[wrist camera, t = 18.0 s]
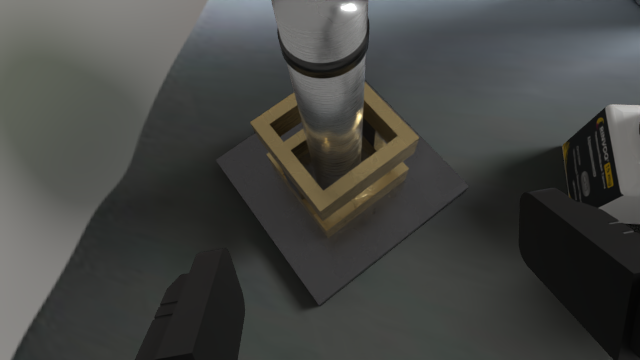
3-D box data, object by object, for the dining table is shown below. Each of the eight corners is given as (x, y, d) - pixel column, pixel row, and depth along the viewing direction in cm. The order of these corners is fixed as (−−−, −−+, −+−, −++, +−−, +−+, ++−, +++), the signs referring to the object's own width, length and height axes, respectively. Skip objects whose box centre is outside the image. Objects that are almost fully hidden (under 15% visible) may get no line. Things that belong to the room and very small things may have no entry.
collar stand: (351, 75, 40) (351, 3, 31) (464, 191, 35) (502, 144, 26) (220, 166, 37) (179, 116, 29) (320, 306, 32) (307, 297, 23)
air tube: (341, 143, 36) (329, -61, 17) (371, 176, 34) (392, -6, 16) (304, 169, 35) (249, -12, 16) (333, 205, 34) (308, 50, 15)
